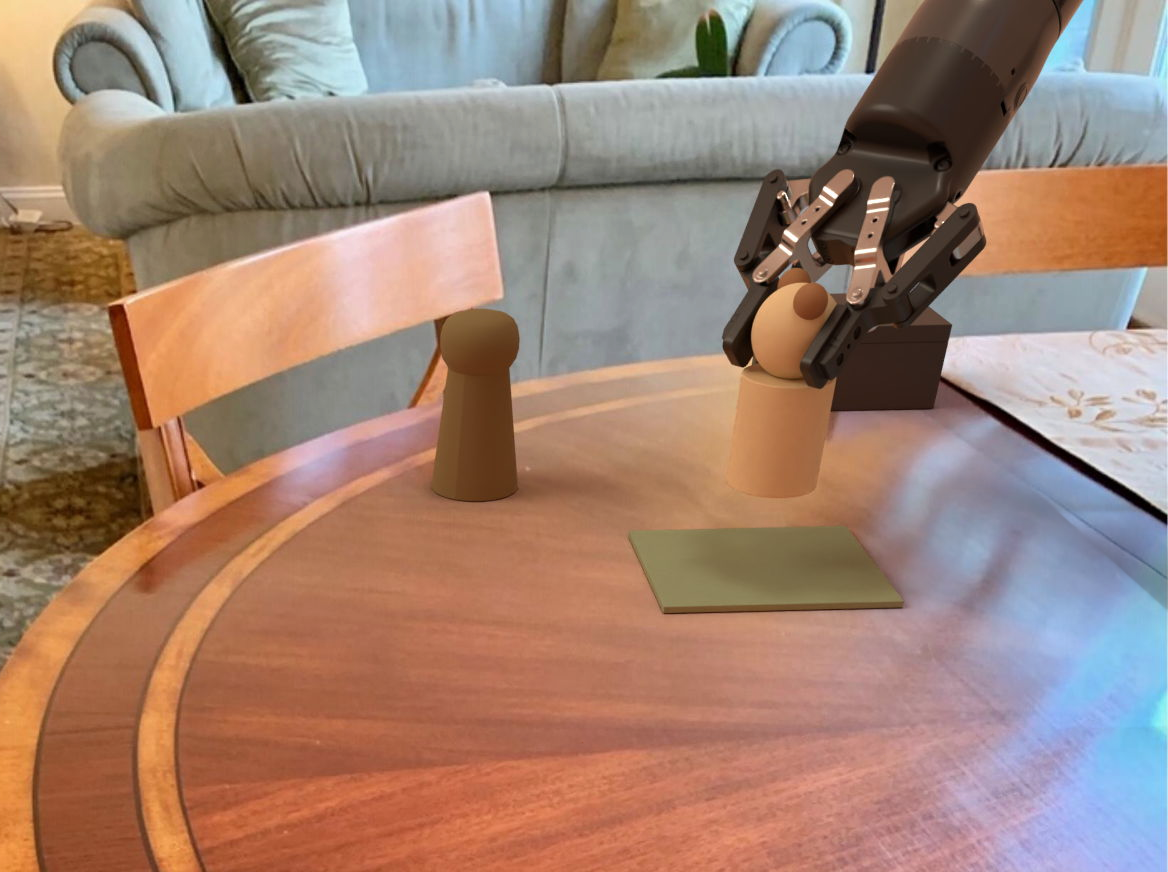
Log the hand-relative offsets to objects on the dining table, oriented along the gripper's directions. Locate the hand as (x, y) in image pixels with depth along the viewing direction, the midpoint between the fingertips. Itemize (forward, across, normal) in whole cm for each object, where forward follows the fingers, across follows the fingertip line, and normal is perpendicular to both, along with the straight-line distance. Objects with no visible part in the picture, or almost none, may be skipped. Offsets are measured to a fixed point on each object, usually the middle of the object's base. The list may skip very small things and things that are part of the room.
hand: (770, 367), depth 81 cm
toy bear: (+3, 0, +6) cm, 7 cm away
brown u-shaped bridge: (-17, -19, +34) cm, 42 cm away
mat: (+7, 0, +10) cm, 12 cm away
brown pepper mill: (+9, -22, +8) cm, 25 cm away
